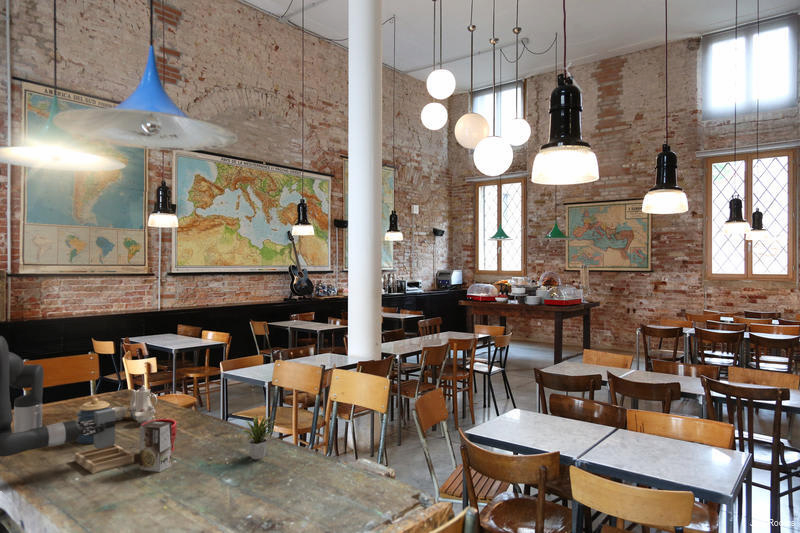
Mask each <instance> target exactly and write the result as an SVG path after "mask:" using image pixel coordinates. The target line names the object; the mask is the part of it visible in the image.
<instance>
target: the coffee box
mask: <svg viewBox="0 0 800 533" xmlns="http://www.w3.org/2000/svg"><path fill="white" fill-rule="evenodd" d="M171 430H172V423H169V422H158V421H152V420H151V421H150V422H148V423H146V424H144V425H139V470H141V471H149V472H157V473H160V472H163V471H165V470H166V469H168V468H171V467H172V452H171Z"/></svg>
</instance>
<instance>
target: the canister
mask: <svg viewBox="0 0 800 533" xmlns="http://www.w3.org/2000/svg"><path fill="white" fill-rule="evenodd" d="M90 400H91V401H88V402H85V403H83V404H82V405H80V406H79V407H78V409H79V411H77V412H76V416H77V420H76V421H77V422H79V421H87V420H94V412H96V411H101V410H106V409H112V408H111V407H110V404H111V403H109V402H107V401H105V400H99V399H98V398H97V397H93V398H92V399H90ZM76 443H78V444H79V445H80V444H81V445H92V444H93V445H94V435H92V436H90V435H89V434H88V435H79V437H78V439H77V440H76Z"/></svg>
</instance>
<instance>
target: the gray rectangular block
mask: <svg viewBox="0 0 800 533" xmlns="http://www.w3.org/2000/svg"><path fill="white" fill-rule="evenodd" d="M110 421H115V422H116V420H115V410H114V409H113V408H111V409H106V410H101V411H96V412H94V423H98V424H99V423H105V422H110ZM94 427H95V425H94ZM100 428H101V427H100ZM115 444H116V426H115V427H112V428H107V429H105V431H104V432H101V433H98V434H95V435H94V443H93V447H94V449H95V448H97V449H98V448H103V447H107V446H111V445H115Z"/></svg>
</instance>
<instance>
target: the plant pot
mask: <svg viewBox="0 0 800 533" xmlns="http://www.w3.org/2000/svg"><path fill="white" fill-rule="evenodd" d="M151 421H158V422H169V423H172V430H171V453H172V452H174V450H175V445H174V443H175V440H176V437H177V431H178V429H177V426H178V425H177V424H178V423H177V421H176V420H174V419H170V418H169V419H168V418H157V419H155V420H154V419H151ZM148 422H150V421H148ZM148 422H145V423H143V424H142V425H144V424H146V423H148Z"/></svg>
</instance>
